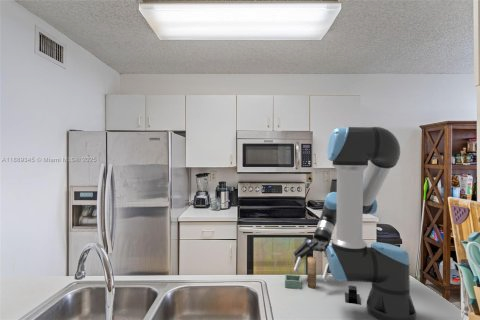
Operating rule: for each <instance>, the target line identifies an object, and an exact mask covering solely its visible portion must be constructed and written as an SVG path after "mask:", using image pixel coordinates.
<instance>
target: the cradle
mask: <svg viewBox="0 0 480 320" xmlns="http://www.w3.org/2000/svg"><path fill="white" fill-rule="evenodd" d="M301 280H302V279H301V275H298V274H297V275H295V274H284V288H287V289H295V290H297V289H298V290H301V289H302V281H301Z"/></svg>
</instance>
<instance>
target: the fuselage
mask: <svg viewBox="0 0 480 320" xmlns="http://www.w3.org/2000/svg"><path fill="white" fill-rule="evenodd" d="M307 287H308V288H309V289H316V288H317V258H316V257H315V256H308V257H307Z"/></svg>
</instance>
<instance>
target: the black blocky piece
mask: <svg viewBox="0 0 480 320" xmlns="http://www.w3.org/2000/svg"><path fill="white" fill-rule="evenodd" d="M347 287H348V289H347V290H348V291H347V292H346V291H345V292H344V302H345V303H346V304H353V305H358V306H359V305H360V306H362V302H361V297H360V294H358V289H357V286H355V285H350V284H349V285H348V286H347Z"/></svg>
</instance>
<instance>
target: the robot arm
mask: <svg viewBox="0 0 480 320" xmlns="http://www.w3.org/2000/svg"><path fill="white" fill-rule="evenodd" d="M329 136H330V137H329V139H328V143H327V144H328V145H327V159H328V160H329V161H331V162H332V167H333V168H335V170H336V191H332V192H329V193H328V194H327V195H326V197H325V198H324V199H325V200H324V202H323V207H322V210H321V214H320V217H319V220H318V223H317V226H316V227H315V231H314V233H313V237H312V239H309V238H307V237H306V238H304V241H303V243H301V244H300V245H299V247H298V248H296V249H295V251H294V252H293V255H294V256H295V261H294V264H295V265H294V268H293V271H294V273H295V274H298V273H299V270H300V267H301V264H302V263H303V258H304V257H306V256H307V255H308V254H310V253H312V252H320V253H324V255H325V257H326V260H327V262H328V263H325V267H324V271H323V275H322V276H321V277H322V280H323V281H324V282H327V279H328V276H329V274H331V276H332V278H333V279H334V280H336V281H342V282H346V283H347V282H353V283H359V282H360V283H371V288H370V291H369V294H368V296H367V299H366V310H367V312H368V313H369V314H370V315H371V316H372V317H374V318H376V319H378V320H417V310H416V308H415V305H414V302H413V300H412V297H411V292H410V291H411V290H410V287H411V285H410V282H411V281H410V279H411V277H410V275H411V274H410V265H411V263H410V255H409V252H408V251H407V250H405V249H404V248H402V247H399V246H397V245H394V244H391V243H386V242H379V241H374V242H371V244H370V247H369V246H368V243H367V242H366V241H365V240H364V239H363V222H364V221H363V217H364V215H373V214H375V213H377V209H378V202H377V199H376V198H377V197H378V194H379V193H380V190H381V188H382V187H383V185H384V182H385V181H386V178H387V177H388V174H389V173H390V170H391V169H393V168H394V167H395V166H396V165H397V163H398V162H399V159H400V157H401V146H400V143H399V140H398V139H397V136H395V135H394V133H393V132H391V130H389V129H387V128H384V127H381V126H373V127H372V126H370V127H368V126H365V127H364V126H362V127H360V126H344V127H337V128H335V129H333V130H332V132H331V134H330V135H329ZM364 170H365V172H364ZM335 227H336V229H335ZM335 230H336V232H335V233H336V236H335V237H334V238H332V236H333V233H334V231H335Z"/></svg>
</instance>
